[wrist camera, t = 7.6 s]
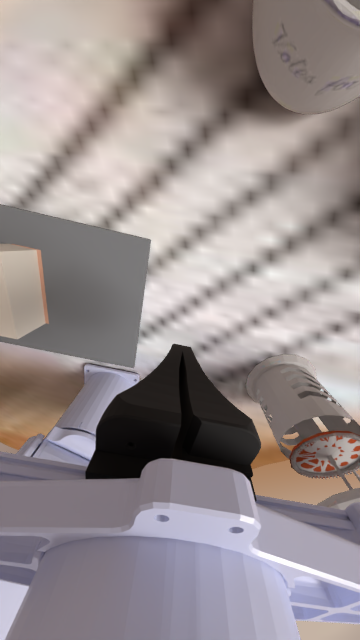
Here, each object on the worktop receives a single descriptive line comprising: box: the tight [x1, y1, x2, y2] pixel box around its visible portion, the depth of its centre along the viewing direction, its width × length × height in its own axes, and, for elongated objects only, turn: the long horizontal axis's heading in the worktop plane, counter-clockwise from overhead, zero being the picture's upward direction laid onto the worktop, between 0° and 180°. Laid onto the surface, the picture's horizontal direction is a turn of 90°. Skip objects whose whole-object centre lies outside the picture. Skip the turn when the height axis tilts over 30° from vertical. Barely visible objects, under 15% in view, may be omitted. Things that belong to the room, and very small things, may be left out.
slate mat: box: [0, 205, 151, 368], centre depth 21 cm, size 17×22×1 cm
